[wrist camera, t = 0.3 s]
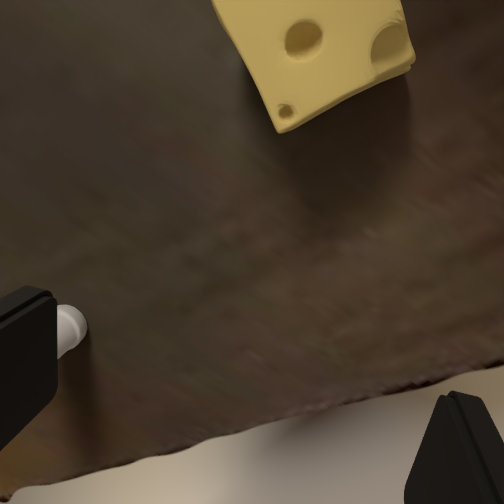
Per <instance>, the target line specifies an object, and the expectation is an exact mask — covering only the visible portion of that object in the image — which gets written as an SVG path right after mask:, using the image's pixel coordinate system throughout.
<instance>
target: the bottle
mask: <svg viewBox="0 0 504 504" xmlns="http://www.w3.org/2000/svg"><path fill="white" fill-rule="evenodd" d="M86 331H87V323H86V319H85V318H84V316H83V314H82V313H81V312H80V311H79V310H77V309H76V308H74V307H72V306H70V305H58V306H57V339H58V359H59V358H60V357H61V356H62V355H63V354H64V353H65V352H66V351H68V350H70V349H72V348H75V347H76V346H77V345H78V344H79V343H80V341H81V340H82V339H83V338H84V337H85V335H86Z"/></svg>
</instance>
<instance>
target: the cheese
mask: <svg viewBox="0 0 504 504" xmlns="http://www.w3.org/2000/svg"><path fill="white" fill-rule="evenodd" d="M211 1H212V5H213V8H214V10H215V13H216V15H217V17H218V19H219V21H220V23H221V25H222V26H223V28H224V30H225V31H226V33H227V34H228V36H229V37H230V39H231V40H232V41H233V43H234V44H235V46H236V48H237V50H238V52H239V53H240V55H241V57H242V59H243V61H244V63H245V64H246V66H247V68H248V70H249V72H250V74H251V76H252V78H253V80H254V82H255V84H256V86H257V88H258V90H259V92H260V95H261V97H262V99H263V101H264V104H265V106H266V108H267V111H268V113H269V115H270V118H271V120H272V122H273V124H274V127H275V129H276V131H277V132H278V133H285V132H287V131H291V130H293V129H295V128H297V127H299V126H300V125H302V124H304V123H306V122H307V121H309V120H311V119H312V118H314V117H316V116H318V115H320V114H321V113H323V112H325V111H327V110H328V109H330V108H332V107H334V106H335V105H337V104H339V103H340V102H342V101H344V100H345V99H347V98H349V97H351V96H353V95H355V94H358V93H360V92H362V91H364V90H366V89H368V88H370V87H372V86H374V85H376V84H379V83H381V82H383V81H386V80H388V79H391V78H393V77H396V76H399V75H401V74H403V73H406V72H407V71H409V70H410V68H411V66H410V65H411V64H413V63H414V62H415V59H416V57H415V52H414V49H413V47H412V44H411V41H410V38H409V35H408V30H407V25H406V21H405V17H404V12H403V8H402V5H401V2H400V0H211Z"/></svg>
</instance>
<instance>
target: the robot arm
mask: <svg viewBox="0 0 504 504" xmlns="http://www.w3.org/2000/svg"><path fill="white" fill-rule="evenodd" d="M57 386H58V339H57V301H56V299H55V298H53V295H52V293H51V292H50V291H48V290H44V289H40V288H36V287H32V286H24V287H22V288H20V289H18V290H16V291H14V292H12V293H10V294H9V295H7V296H5V297H3V298H1V299H0V451H1V450H2V449H3V448H4V447H5V446H6V445H7V444H8V443H9V442H10V441H11V440H12V439H13V438H14V437H15V436H16V435H17V434H18V433H19V432H20V431H21V430H22V429H23V428H24V427H25V426H26V425H27V424H28V423H29V422H30V421H31V420H32V419H33V418H34V417H35V416H36V415H37V414H38V413H39V412H40V411H41V410H42V409H43V408H44V407H45V406H46V405H47V404H48V403H49V402H50V401H51V400H52V399H53V397H54V396H55V394H56V391H57ZM404 504H504V442H503V440H502V438H501V436H500V434H499V432H498V430H497V428H496V426H495V424H494V422H493V420H492V418H491V417H490V414H489V412H488V410H487V409H486V406H485V404H484V402H483V401H482V399H481V398H479V397H477V396H473V395H468V394H464V393H460V392H456V391H450V392H449V393H448V395H447V396H445V395H440V396H439V398H438V400H437V403H436V405H435V408H434V410H433V413H432V416H431V418H430V421H429V424H428V426H427V429H426V431H425V434H424V437H423V439H422V442H421V445H420V448H419V450H418V453H417V455H416V458H415V461H414V463H413V466H412V468H411V471H410V474H409V476H408V479H407V482H406V485H405V490H404Z"/></svg>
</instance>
